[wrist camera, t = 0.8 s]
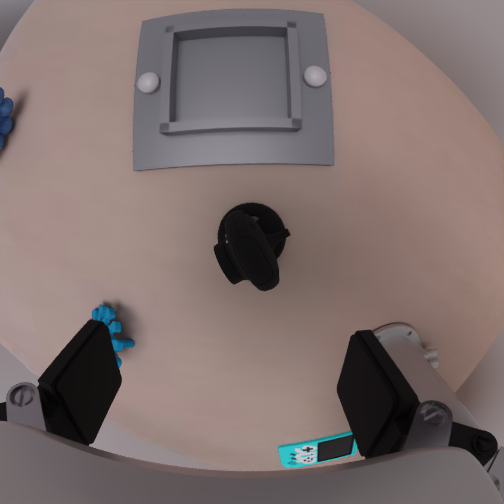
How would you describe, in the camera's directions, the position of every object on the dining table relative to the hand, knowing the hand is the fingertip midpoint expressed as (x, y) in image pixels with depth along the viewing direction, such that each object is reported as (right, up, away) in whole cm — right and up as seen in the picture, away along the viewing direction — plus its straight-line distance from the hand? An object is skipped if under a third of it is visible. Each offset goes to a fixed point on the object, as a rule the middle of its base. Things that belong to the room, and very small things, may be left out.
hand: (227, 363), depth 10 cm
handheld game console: (+14, -35, +34) cm, 51 cm away
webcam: (+1, +6, +22) cm, 23 cm away
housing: (-1, +23, +17) cm, 29 cm away
